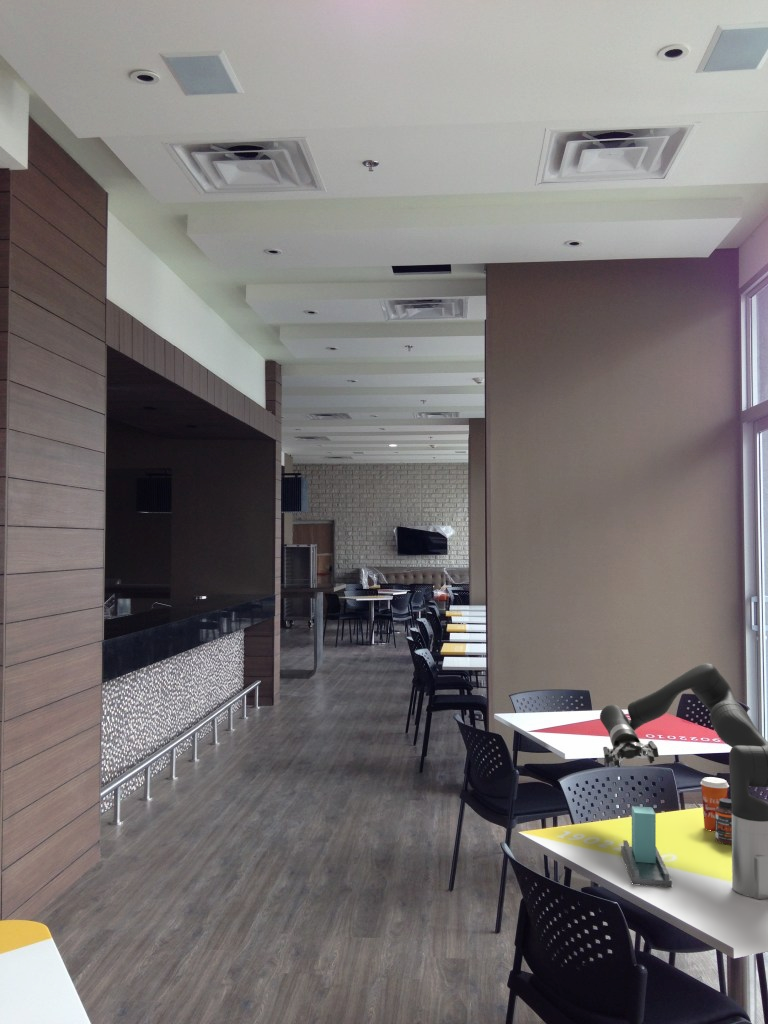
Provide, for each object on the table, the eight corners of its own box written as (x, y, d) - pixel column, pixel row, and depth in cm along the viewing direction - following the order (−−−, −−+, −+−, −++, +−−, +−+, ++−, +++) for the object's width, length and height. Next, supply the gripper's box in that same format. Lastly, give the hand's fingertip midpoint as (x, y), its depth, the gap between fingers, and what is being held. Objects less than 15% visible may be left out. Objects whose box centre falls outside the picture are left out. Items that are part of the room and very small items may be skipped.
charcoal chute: (620, 851, 217) (620, 840, 217) (656, 854, 216) (656, 842, 216) (632, 884, 195) (632, 871, 195) (671, 887, 193) (671, 874, 193)
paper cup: (697, 829, 237) (697, 780, 238) (704, 823, 243) (704, 775, 244) (726, 835, 232) (725, 785, 233) (732, 828, 239) (731, 779, 240)
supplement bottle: (715, 843, 225) (715, 801, 226) (714, 837, 231) (714, 796, 231) (739, 846, 223) (738, 804, 224) (738, 840, 229) (737, 798, 229)
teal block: (631, 853, 211) (631, 806, 212) (652, 855, 210) (651, 807, 211) (634, 861, 205) (634, 812, 206) (655, 863, 204) (655, 814, 205)
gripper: (652, 750, 235) (664, 772, 218) (601, 756, 237) (609, 778, 220) (648, 724, 234) (659, 745, 218) (597, 731, 236) (605, 751, 220)
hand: (634, 762), depth 219 cm, fingers open, 8 cm apart
